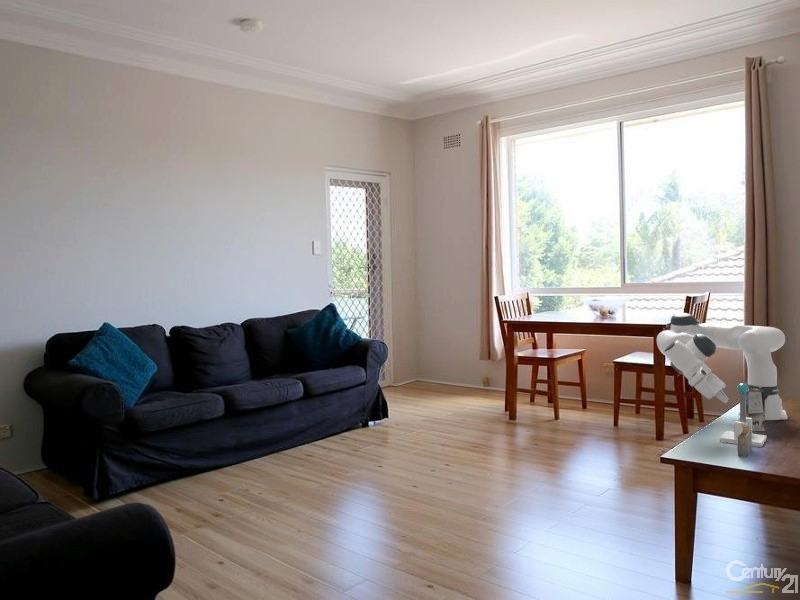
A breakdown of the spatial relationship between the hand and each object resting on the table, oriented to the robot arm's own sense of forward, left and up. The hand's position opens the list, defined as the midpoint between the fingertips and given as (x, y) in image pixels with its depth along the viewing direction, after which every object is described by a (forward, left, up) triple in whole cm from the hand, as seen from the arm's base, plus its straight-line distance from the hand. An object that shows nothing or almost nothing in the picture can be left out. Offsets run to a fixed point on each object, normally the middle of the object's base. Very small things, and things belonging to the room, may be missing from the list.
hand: (727, 401), depth 249 cm
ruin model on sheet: (+17, +9, -15) cm, 24 cm away
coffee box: (-21, +5, -15) cm, 26 cm away
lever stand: (0, +5, -14) cm, 15 cm away
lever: (0, +5, -11) cm, 12 cm away
